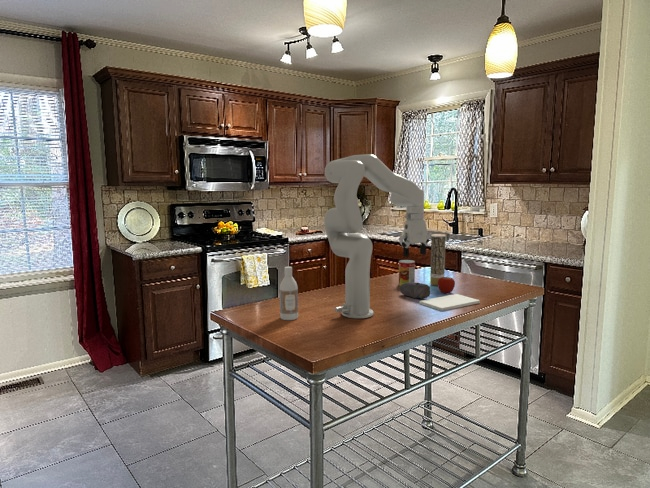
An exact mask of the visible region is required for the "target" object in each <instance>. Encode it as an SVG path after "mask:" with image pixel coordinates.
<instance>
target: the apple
mask: <svg viewBox="0 0 650 488" xmlns="http://www.w3.org/2000/svg"><path fill="white" fill-rule="evenodd" d="M455 286H456V282H455V279H454V278H453V277H450V276H449V277H448V276H444V277H441V278H440V279H439V280H438V286H437V287H438V290H439V291H440V292H441V293H442V294H451V293H452V292H453V290H454V289H455Z"/></svg>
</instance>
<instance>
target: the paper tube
mask: <svg viewBox="0 0 650 488" xmlns="http://www.w3.org/2000/svg"><path fill="white" fill-rule="evenodd" d="M430 239H431V240H430V273H429V274H430V276H429V277H430V278H429V279H430V282H429V284H430V285H432V286H435V287H438V280H439V279H440V278H441V277H445V273H446V272H445V271H446V268H445V267H446V240H447V239H446V234H443V233H441V234H440V233H434V234H431V235H430Z"/></svg>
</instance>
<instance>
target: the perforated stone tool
mask: <svg viewBox="0 0 650 488" xmlns="http://www.w3.org/2000/svg"><path fill="white" fill-rule="evenodd" d="M399 291H400V293H401V294H402V295H404V296H405V297H407V296H408V297H410V298H412V299H417V298H418V299H420V300H425V299H428V297H430V294H431V287H430V286H429V285H428V284H426V283H422V282H421V283H419V282H415V283H414V282H409V283H404V284H402V285H401V286H399Z"/></svg>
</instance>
